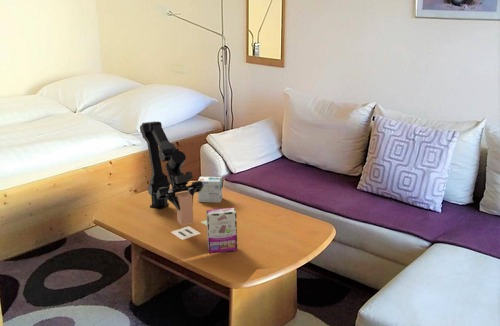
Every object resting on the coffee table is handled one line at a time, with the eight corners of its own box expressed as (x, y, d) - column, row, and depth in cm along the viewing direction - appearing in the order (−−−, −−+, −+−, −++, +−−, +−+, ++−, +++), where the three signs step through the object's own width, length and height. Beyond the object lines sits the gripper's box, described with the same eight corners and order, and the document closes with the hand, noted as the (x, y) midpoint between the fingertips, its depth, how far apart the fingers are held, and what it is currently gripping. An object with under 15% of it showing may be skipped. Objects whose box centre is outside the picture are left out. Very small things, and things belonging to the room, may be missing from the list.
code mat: (184, 244, 216) (184, 243, 216) (164, 232, 227) (164, 230, 226) (236, 226, 232) (236, 224, 231) (214, 215, 243) (214, 213, 242)
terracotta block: (177, 220, 224) (176, 193, 220) (188, 218, 226) (187, 191, 222) (181, 225, 220) (180, 197, 216) (193, 223, 222) (192, 195, 218)
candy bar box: (235, 245, 216) (234, 207, 210) (237, 251, 211) (237, 212, 206) (207, 247, 214) (205, 209, 208) (208, 254, 209) (207, 214, 204)
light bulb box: (222, 197, 262) (222, 176, 259) (220, 203, 256) (220, 181, 252) (200, 196, 263) (199, 175, 260) (197, 202, 257) (197, 180, 253)
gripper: (157, 169, 214) (167, 205, 209) (201, 162, 223) (212, 196, 217) (151, 181, 224) (162, 216, 218) (194, 174, 232) (205, 207, 226)
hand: (185, 208), depth 220 cm, fingers closed on terracotta block, 5 cm apart
